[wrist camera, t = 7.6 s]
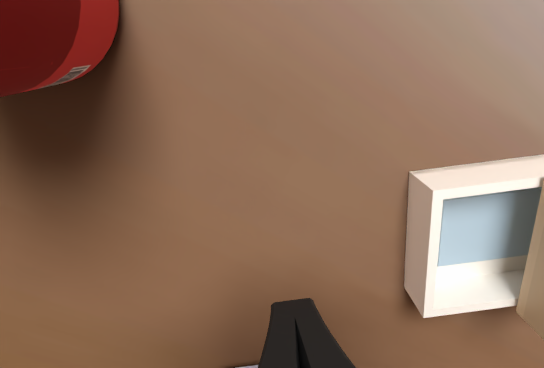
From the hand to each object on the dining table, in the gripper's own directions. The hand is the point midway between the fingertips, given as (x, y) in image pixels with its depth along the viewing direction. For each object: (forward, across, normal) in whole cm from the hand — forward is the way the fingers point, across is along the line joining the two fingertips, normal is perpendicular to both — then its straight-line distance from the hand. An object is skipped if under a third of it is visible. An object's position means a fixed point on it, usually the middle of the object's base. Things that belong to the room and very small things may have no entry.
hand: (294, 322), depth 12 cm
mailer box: (+10, -14, +4) cm, 18 cm away
